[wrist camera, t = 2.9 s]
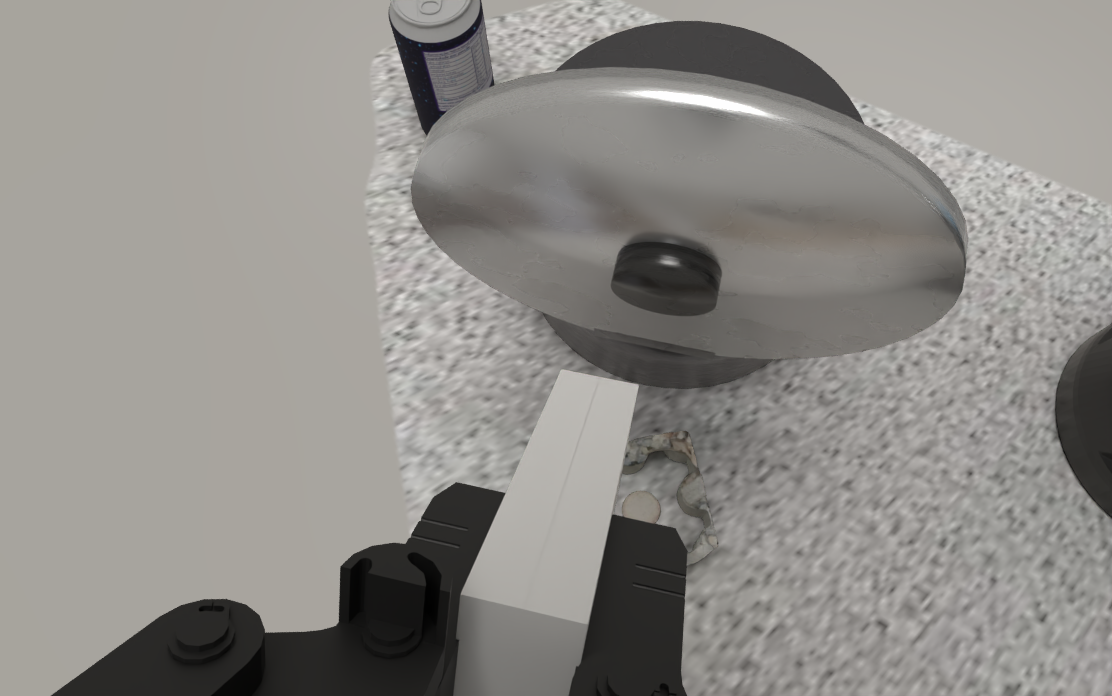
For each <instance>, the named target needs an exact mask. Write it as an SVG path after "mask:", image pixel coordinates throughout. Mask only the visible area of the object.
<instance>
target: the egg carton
mask: <svg viewBox="0 0 1112 696" xmlns="http://www.w3.org/2000/svg"><path fill="white" fill-rule="evenodd" d="M654 451H664V453H665V454H666V456H667V457H668V458H670V459H671V460H673V461H675V462H681V463H686V464H687V466H688V470H689V473H690V474H688V475H687V476H686V477H685V478H684V480H683V482H682V483H681V485H680V487H679V490H678V492H677V500H678V503H679V505H680V507H681V508H682V510H683V511H684V512H685V513H686V514H688V515H690V516H694V517H702V519H703V521H704V528H705V530H703V531H702V533H701V535H700V537H699V539H698V540H697V541H696V542H695V544H694V546H693V551H692V552H690V553H687V565H690V564H694V563H696V562H698V561H700V560H701V559H703V558H704V557H705V556H706V555H708V554H709V553H710V552H711V551H712V550H714V549H715V548H717V547H718V541H717V537H716V533H715V529H714V526H713V521H712V517H711V513H710V509H709V506H708V503H707V499H706V496H707V495H706V491H705V487H704V483H703V479H702V475H701V474H700V472H699V470H698V466H697V461H696V457H695V454H694V449H693V446H692V442H691V438H690V434H689V433H688V432H687V431H680V432H669V433H664V434H660V435H651V436H647V437H642V438H638V439H635V440H633V441H628V445H627V450H626V455H625V460H624V465H623V470H622V473H623V474H633V473H635V472H637V471H638V470H640V469H641V468H642V467H643V466H644V464H645V461H646V459H647V457H648V455H649V454H650V453H652V452H654ZM660 513H661V509H660V504H659V502H658V500H657V499H656V498H655V497H654V496H653V495H652V494H651V493H648V492H646V491H636V492H633V493H632V494H629V495H628V496H627V498H626V499H625V501H624V502H623V506H622V514H623V516H624V517H626V518H631V519H636V520H640V521H645V522H649V523H654V524H655V523H656V522H657V520H658V518H659V516H660Z"/></svg>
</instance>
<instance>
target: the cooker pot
mask: <svg viewBox="0 0 1112 696" xmlns="http://www.w3.org/2000/svg"><path fill="white" fill-rule="evenodd" d="M603 67H623V68H652V69H665V70H673V71H682V72H690V73H698V74H707V75H712V76H717V77H722V78H727V79H731V80H736V81H741V82H746V83H751V84H756V85H759V86H763V87H766V88H770V89H773V90H776V91H780V92H783V93H787V94H790V95H793V96H797V97H800V98H804V99H806V100H809V101H811V102H814V103H816V104H819V105H821V106H824V107H826V108H829V109H831V110H834V111H836V112H839V113H842V114H844V115H847V116H849V117H851V118H852V119H854V120H856V121H858V122H860V123H862V124H864V123H863V121H862V118H861V116H860V114H859V112H858V111H857V109H856V108H855V106H854V105H853V103H852V101H851V100H850V98H849V97H848V96H847V94H846V93H845V92H844V91H843V90H842V89H841V87H840V86H839V85H838V84H837V83H836V82H835V80H834V79H832V77H830V76H829V75H828V74H827V73H826V72H825V71H824V70H823V69H822V68H821V67H820V66H818V65H817V64H816V63H814V62H813V61H811V60H810V59H809V58H807V57H806V56H804V55H803V54H801V53H800V52H798V51H796V50H795V49H793V48H791V47H789V46H787V45H786V44H784V43H782V42H780V41H777V40H775V39H773V38H770V37H768V36H766V35H763V34H760V33H757V32H754V31H750V30H748V29H744V28H740V27H736V26H731V25H726V24H721V23H712V22H702V21H673V22H663V23H654V24H650V25H645V26H640V27H635V28H632V29H628V30H625V31H622V32H619V33H616V34H613V35H611V36H609V37H606V38H604V39H602V40H600V41H597V42H595V43H593V44H592V45H590V46H588V47H587V48H585V49H583V50H581V51H580V52H578V53H577V54H575V55H574V56H573V57H571V58H570V59H569V60H567V61H566V62H565V63H564V64H562V65H561V66H560V67H559V68H558V69H557V70H556V71H561V70H568V69H586V68H603ZM542 313H543V312H542ZM543 314H544V316H545V318H546V320H547V321H548V323H549V324H550V325H551V326H552V328H553V329H554V330H555V332H556V333H557V334H558V335H559V336H560V337H561V338H562V339H563V340H564V341H565V342H566V343H567V344H568V345H569V346H570V347H571V348H572V349H573V350H574V351H575V352H577V353H578V354H579V355H581V356H582V357H583V358H585V359H586V360H587V361H589V362H591V363H592V364H594V365H596V366H598V367H599V368H601V369H603V370H605V371H606V372H609V373H611V374H614V375H616V376H619V377H621V378H623V379H626V380H630V381H633V382H637V383H640V384H644V385H650V386H656V387H663V388H687V389H688V388H698V387H708V386H712V385H717V384H721V383H726V382H729V381H732V380H735V379H738V378H740V377H743V376H746V375H748V374H750V373H752V372H754V371H756V370H758V369H760V368H761V367H763V366H765V365H767V364H768V363H769V362H771V361H772V360H774V359H755V358H738V357H725V356H716V355H714V358H713V360H710V359H705V358H701V357H696V356H691V355H686V354H681V353H676V352H671V351H666V350H662V349H657V348H652V347H647V346H642V345H637V344H632V343H627V342H623V341H618V340H613V339H608V338H603V337H598V336H594V331H593V330H590V329H587V328H584V327H581V326H577V325H575V324H572V323H569V322H566V321H564V320H561V319H558V318H555V317H553V316H550V315H548V314H546V313H543Z"/></svg>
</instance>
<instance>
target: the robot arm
mask: <svg viewBox="0 0 1112 696" xmlns="http://www.w3.org/2000/svg"><path fill="white" fill-rule="evenodd" d="M638 388H639V385H638V384H633V383H628V382H623V381H618V380H613V379H608V378H603V377H598V376H593V375H588V374H583V373H578V372H573V371H568V370H563V369H561V371H560V373H559V375H558V378H557V380H556V382H555V384H554V387H553V389H552V391H551V393H550V396H549V398H548V400H547V402H546V404H545V407H544V409H543V411H542V413H541V416H540V418H539V420H538V422H537V425H536V427H535V429H534V431H533V433H532V436H531V438H530V440H529V442H528V445H527V447H526V449H525V451H524V454H523V456H522V458H521V460H520V463H519V465H518V467H517V469H516V471H515V474H514V476H513V478H512V480H511V483H510V485H509V487H508V489H507V492H506V493H503V492H498V491H494V490H489V489H485V488H480V487H476V486H471V485H466V484H462V483H457V482H456V483H455V484H453V485H451V486H450V487H448V488H447V489H445V490H444V491H442V492H441V493H439V494H438V495H436V496H434V497H433V499H432V501H431V502H430V504H429V506H428V507H427V509H426V511H425V512H424V514H423V516H422V518H421V521H419V522H418V524H417V526H416V527H415V529H414V531H413V532H412V535H411V538H409V539H408V541H407V543H406V544H400V543H389V544H383V545H376V546H371V547H369V548H367V549H364V550H362V551H360V552H357V553H355V554H353V555H352V556H351V557H350V558H349V559H348V560H347V561H346V562H345V563H344V564H343V565H342V566H341V568H340V602H339V623H338V624H337V626H334V627H331V628H327V629H324V630H318V631H310V632H280V633H279V632H278V633H265V629H264V626H263V624H262V621H261V618H260V616H259V615H258V614H257V613H256V612H255V611H253V610H252V609H251V608H249V607H248V606H247V605H245V604H242V603H238V602H235V601H231V600H227V599H209V600H208V599H204V600H200V601H196V602H192V603H188V604H185V605H181V606H179V607H177V608H175V609H173V610H171V611H169V612H168V613H166V614H164V615H162V616H160V617H159V618H157V619H156V620H155V621H153V622H152V623H150V624H149V625H148V626H146V627H145V628H144V629H142V630H141V631H139V632H138V633H137V634H135V635H134V636H133V637H131V638H130V639H128V640H127V641H126V642H124V643H123V644H122V645H120V646H119V647H117V648H116V649H115V650H113V651H112V652H110V653H109V654H108V655H106V656H105V657H104V658H102V659H101V660H99V661H98V662H97V663H95V664H94V665H92V666H91V667H90V668H88V669H87V670H86V671H84V672H83V673H81V674H80V675H79V676H77V677H76V678H75V679H73V680H72V681H70V682H69V683H68V684H66V685H65V686H64V687H62V688H61V689H60V690H58V691H57V692H55V693H54V694H53V695H51V696H687V695H686V692H685V690H684V687H683V685H682V677H681V660H682V642H683V623H684V605H685V599H684V597H685V587H686V579H685V578H686V568H687V550H686V548H685V546H684V544H683V542H682V540H681V538H680V536H679V534H678V533H677V531H676V529H675V528H672V527H667V526H663V525H658V524H654V523H649V522H645V521H640V520H636V519H631V518H626V517H622V516H617V515H614V511H615V506H616V501H617V496H618V491H619V486H620V481H621V476H622V470H623V465H624V460H625V455H626V450H627V445H628V439H629V434H630V429H631V424H632V419H633V414H634V408H635V403H636V398H637V393H638ZM1056 416H1057V425H1058V430H1059V435H1060V438H1061V442H1062V445H1063V448H1064V451H1065V453H1066V456H1067V458H1068V460H1069V462H1070V464H1071V466H1072V468H1073V470H1074V472H1075V473H1076V475H1077V477H1078V478H1079V480H1080V481H1081V483H1082V484H1083V486H1084V487H1085V489H1086V490H1087V491H1088V492H1089V494H1090V495H1091V496H1092V497H1093V499H1094V500H1095V501H1096V502H1097V503H1098V504H1099V505H1100V506H1101V507H1102V508H1103V509H1104V510H1105V511H1106V512H1107V513H1108V514H1109V515H1110V516H1111V517H1112V324H1110V325H1109V326H1107V327H1106V328H1104V329H1103V330H1101V331H1100V332H1098V333H1097V334H1095V335H1094V336H1092V337H1091V338H1089V339H1088V340H1087V341H1086V342H1084V343H1083V344H1082V345H1081V346H1080V347H1079V348H1078V349H1077V351H1076V352H1075V353H1074V354H1073V356H1072V357H1071V358H1070V360H1069V362H1068V363H1067V365H1066V367H1065V369H1064V371H1063V374H1062V376H1061V379H1060V382H1059V387H1058V392H1057V400H1056Z"/></svg>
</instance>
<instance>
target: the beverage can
mask: <svg viewBox="0 0 1112 696" xmlns="http://www.w3.org/2000/svg"><path fill="white" fill-rule="evenodd" d="M389 21H390V24H391V27H392V31H393V34H394V37H395V40H396V44H397V47H398V50H399V54H400V57H401V60H402V64H403V67H404V70H405V74H406V77H407V80H408V83H409V87H410V90H411V93H412V97H413V100H414V103H415V107H416V110H417V113H418V116H419V120H420V123H421V126H422V129H423V130H424V132H425V133H426V135H428V133H429V132H430V130H431V128H432V126H433V125H434V124H435V123H436V122H437V121H438V120H439V119H440V118H441V117H442V116H443V115H444V114H445V113H446V112H447V111H448V110H449V109H451V108H452V107H454V106H455V105H457V104H458V103H460V102H461V101H463V100H464V99H466V98H467V97H469V96H471V95H474V94H476V93H478V92H480V91H483V90H485V89H487V88H489V87H492V86H494V79H493V73H492V66H491V60H490V54H489V47H488V41H487V35H486V28H485V22H484V16H483V9H482V3H481V0H391V3H390V7H389Z"/></svg>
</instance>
